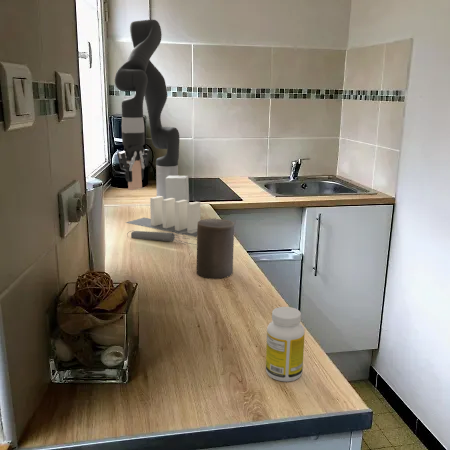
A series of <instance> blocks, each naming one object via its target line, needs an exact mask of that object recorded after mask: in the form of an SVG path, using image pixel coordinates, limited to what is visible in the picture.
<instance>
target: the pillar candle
mask: <svg viewBox="0 0 450 450" xmlns="http://www.w3.org/2000/svg"><path fill="white" fill-rule="evenodd" d="M196 239H197V240H196V244H197V245H196V274H197V275H198V276H200V277H203V278H205V279H209V278H220V279H224V278H223V277H226V278H228V277H227V276H229V277H231V276H232V275H233V273H234V272H233V270H234V269H233V268H234V248H235V247H234V246H235V245H234V244H235V241H234V239H235V222H233V221H231V220H227V219H223V218H216V217H214V218H205V219H204V218H203V219H200V221H198V225H197V237H196ZM231 274H232V275H231ZM230 275H231V276H230Z"/></svg>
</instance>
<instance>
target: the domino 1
mask: <svg viewBox="0 0 450 450" xmlns="http://www.w3.org/2000/svg"><path fill="white" fill-rule="evenodd" d="M128 161H129V160H128ZM129 162H130V161H129ZM128 167H129V164H128ZM131 171H132V182H127V186H128V187H127V188H128V190H131V191H133V190H139V189H142V188H143V182H142V180H143V179H142V175H141V164H140V160H139V161H137V160H136V161H135V162H134V165H133V166H132V170H131Z"/></svg>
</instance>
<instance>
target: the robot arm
mask: <svg viewBox="0 0 450 450" xmlns="http://www.w3.org/2000/svg"><path fill="white" fill-rule="evenodd" d="M161 28H162V27H161V26H160V23H159V22H158V20H156V19H142V20H141V19H140V20H133V21H132V22H131V23H130V24H129V35H130V40H131V44H132V47H133V48H132V49H131V51H130V53H128V54H129V55H128V56H127V59H126V62H124V63H123V64H122V65H121V66H120V67H119V68H118V69H117V71H116V73H115V75H114V84H115V86H116V89H118V90H119V91H121V92H131V93H132V92H135V95H134V96H133V97H131V98H125V99H122V101H121V141H122V143H121V144H122V145H123V148H124V149H123V151H120V152H117V154H116V155H117V159H118V164H119V167H120V170H122V171H124V173H125V181H126V182H127V183H128V182H132V171H131V170H132V166H133V165H134V162H135V161H136V160H137V161H139V160H140V164H141V175H142V180H144V170H145V168H146V167H148V165H149V159H150V149H145V148H144V145H145V143H146V141H145V121H144V107H143V106H144V100H145V104H146V110H147V113H148V122H149V130H150V131H149V132H150V137H151V142H152V145H153V147H155V148H156V149H160V150H166V153H165V154H164V155H163V156H160V157H157V158H156V160H155V167H156V168H155V169H156V173H155V175H156V176H155V179H156V197H157V196H163V200H164V199H166V181H165V178H167V177H168V176H179V157H180V156H179V155H180V133H179V130H178V128H176V127H173V126H172V127H171V126H163V125H162V121H161V120H162V119H161V118H162V115H161V114H162V112H163V109H164V107H165V105H166V102H167V100H168V90H167V89H168V88H167V85H166V80H165V78H164V76H163V74H162V72H161V71H159V69H158V68H157V66H155V65H154V63H153V62H152V61H151V57H152V56H153V55H154V53H155V52H156V50H157V48H159V46H160V44H161V41H162V38H163V37H162V35H163V33H162V29H161ZM128 160H129V161H130V162H129V161H128ZM128 164H129V167H128Z"/></svg>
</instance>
